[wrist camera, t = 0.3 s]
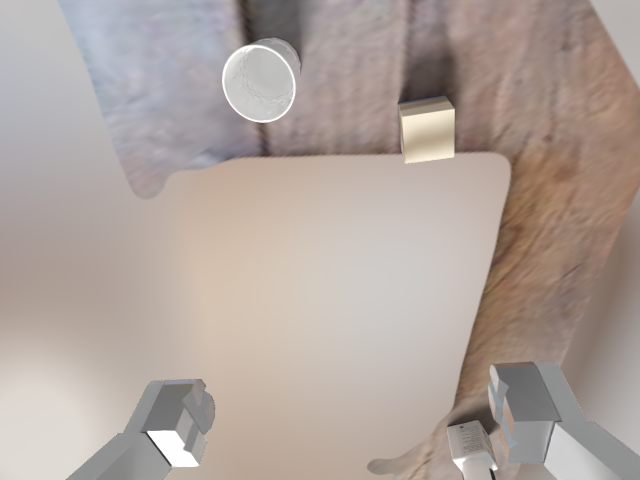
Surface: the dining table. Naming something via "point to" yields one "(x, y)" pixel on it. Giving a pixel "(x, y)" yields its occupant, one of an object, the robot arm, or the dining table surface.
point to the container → (472, 451)
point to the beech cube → (426, 129)
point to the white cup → (262, 79)
